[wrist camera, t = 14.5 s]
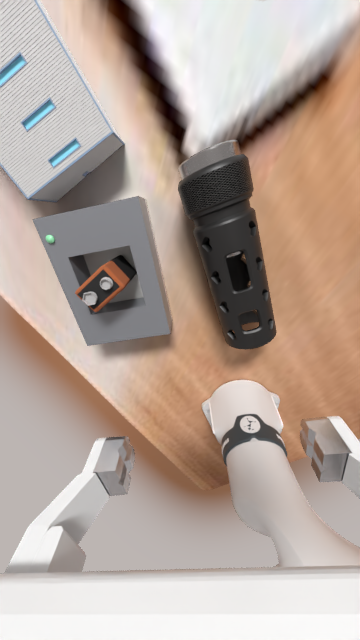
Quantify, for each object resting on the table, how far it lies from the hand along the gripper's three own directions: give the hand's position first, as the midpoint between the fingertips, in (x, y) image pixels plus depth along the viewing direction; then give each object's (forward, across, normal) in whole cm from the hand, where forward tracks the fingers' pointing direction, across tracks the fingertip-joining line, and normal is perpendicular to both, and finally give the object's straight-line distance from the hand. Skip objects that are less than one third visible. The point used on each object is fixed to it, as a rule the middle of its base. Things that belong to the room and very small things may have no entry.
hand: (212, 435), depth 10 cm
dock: (+33, +14, -2) cm, 36 cm away
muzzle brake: (+34, -6, -2) cm, 34 cm away
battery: (+32, +14, -2) cm, 35 cm away
